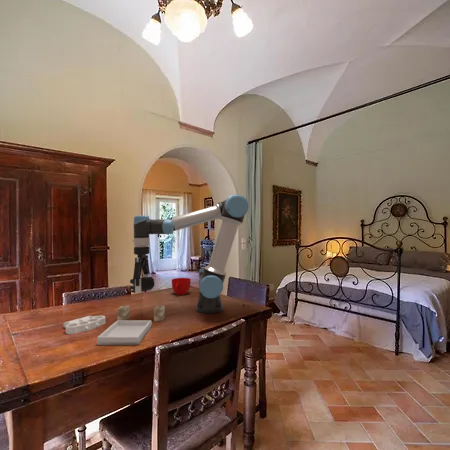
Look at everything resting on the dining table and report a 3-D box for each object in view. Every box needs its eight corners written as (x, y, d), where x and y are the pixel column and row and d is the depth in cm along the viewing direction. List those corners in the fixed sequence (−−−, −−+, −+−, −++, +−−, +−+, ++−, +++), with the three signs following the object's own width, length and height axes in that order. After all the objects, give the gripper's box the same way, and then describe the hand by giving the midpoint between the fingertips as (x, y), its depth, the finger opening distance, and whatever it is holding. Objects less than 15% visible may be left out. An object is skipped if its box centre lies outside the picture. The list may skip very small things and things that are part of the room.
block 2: (164, 317, 145) (164, 305, 145) (162, 321, 139) (162, 309, 139) (156, 317, 145) (157, 305, 145) (153, 321, 139) (153, 309, 139)
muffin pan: (93, 319, 143) (111, 325, 135) (56, 330, 127) (73, 337, 120) (93, 312, 143) (111, 317, 135) (56, 322, 128) (73, 329, 120)
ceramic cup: (166, 297, 186) (166, 282, 186) (175, 291, 202) (175, 277, 202) (185, 298, 183) (185, 282, 183) (192, 292, 200) (192, 278, 200)
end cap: (137, 294, 136) (136, 280, 136) (129, 292, 141) (129, 278, 141) (154, 290, 143) (154, 277, 143) (146, 288, 148) (146, 275, 148)
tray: (151, 326, 131) (151, 320, 131) (138, 345, 111) (138, 337, 111) (117, 326, 131) (117, 320, 131) (97, 344, 111) (97, 337, 111)
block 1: (129, 317, 145) (129, 305, 145) (125, 321, 139) (125, 309, 139) (121, 317, 145) (121, 305, 145) (117, 321, 139) (117, 308, 139)
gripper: (141, 244, 154) (141, 284, 154) (125, 248, 130) (126, 295, 130) (155, 244, 154) (155, 284, 154) (141, 248, 130) (142, 295, 130)
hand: (142, 289), depth 142 cm, fingers closed on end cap, 12 cm apart
